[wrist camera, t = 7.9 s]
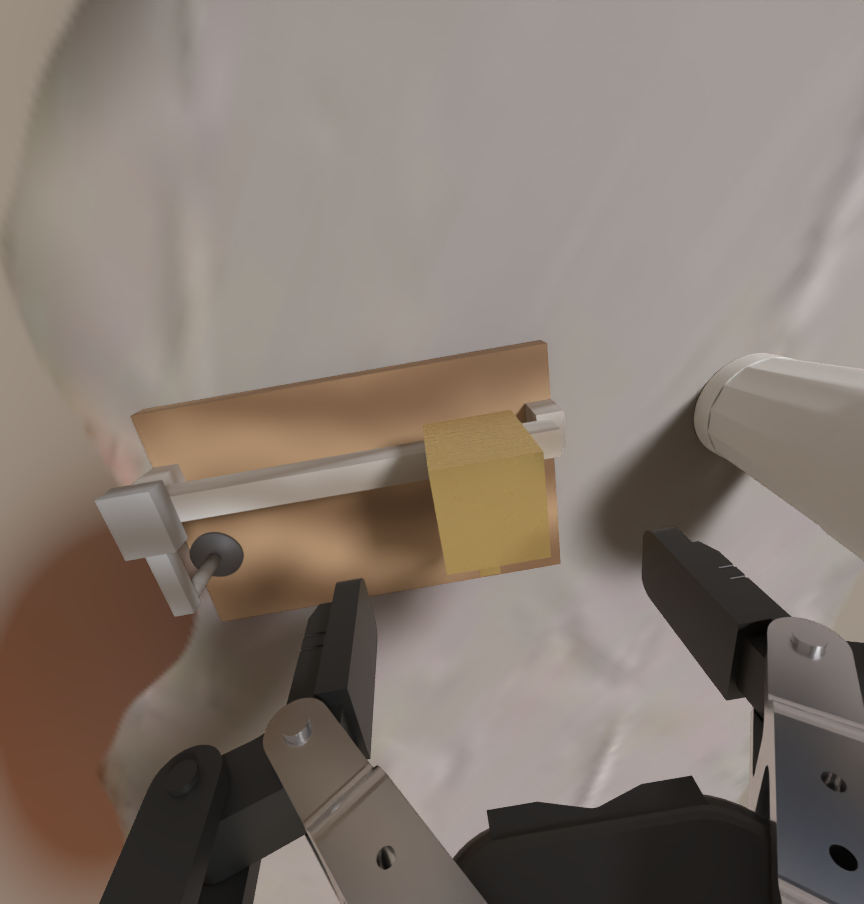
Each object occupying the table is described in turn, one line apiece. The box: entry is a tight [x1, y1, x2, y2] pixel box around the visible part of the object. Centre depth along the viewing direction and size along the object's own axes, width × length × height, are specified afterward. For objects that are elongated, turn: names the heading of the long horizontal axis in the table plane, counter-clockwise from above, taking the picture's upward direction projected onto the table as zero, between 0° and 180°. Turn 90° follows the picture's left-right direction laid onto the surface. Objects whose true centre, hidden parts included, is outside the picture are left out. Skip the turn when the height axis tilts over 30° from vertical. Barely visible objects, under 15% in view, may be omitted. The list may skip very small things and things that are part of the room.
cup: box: [694, 353, 864, 561], centre depth 21 cm, size 8×8×12 cm
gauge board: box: [95, 340, 566, 622], centre depth 24 cm, size 14×22×6 cm, turn 99°
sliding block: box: [422, 410, 551, 577], centre depth 21 cm, size 8×4×9 cm, turn 9°
